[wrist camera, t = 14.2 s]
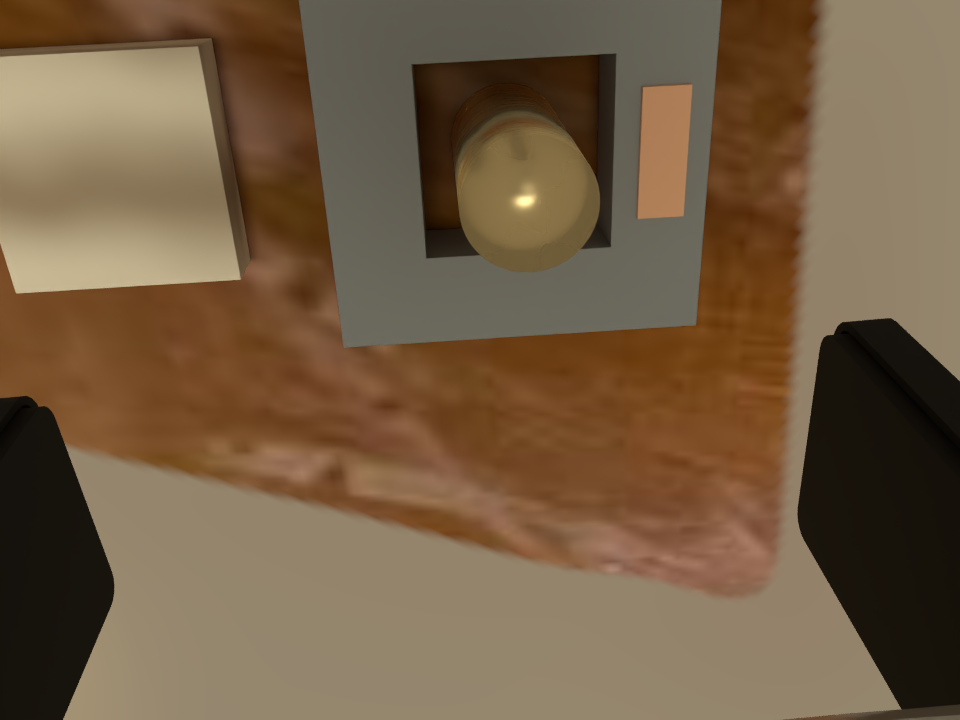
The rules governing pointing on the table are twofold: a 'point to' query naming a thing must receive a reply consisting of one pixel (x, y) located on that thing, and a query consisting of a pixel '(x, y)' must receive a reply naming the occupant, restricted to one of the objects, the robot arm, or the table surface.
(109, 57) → the beige square plate
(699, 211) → the hole plate
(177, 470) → the table surface
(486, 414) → the table surface
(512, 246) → the brass peg
